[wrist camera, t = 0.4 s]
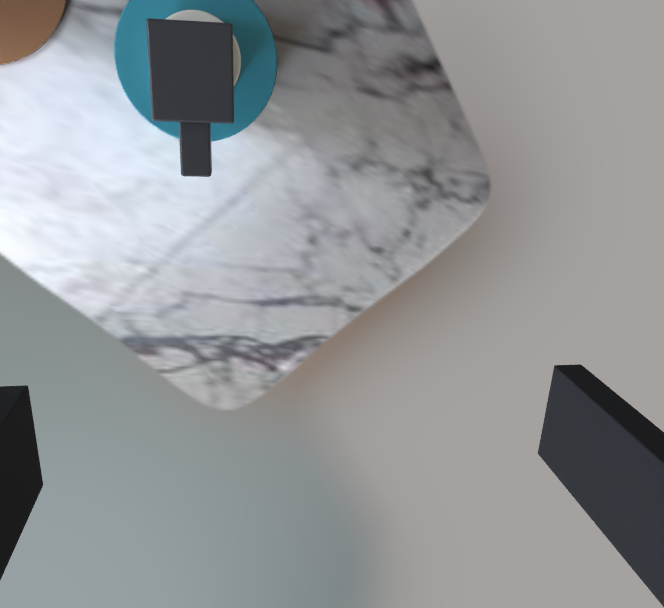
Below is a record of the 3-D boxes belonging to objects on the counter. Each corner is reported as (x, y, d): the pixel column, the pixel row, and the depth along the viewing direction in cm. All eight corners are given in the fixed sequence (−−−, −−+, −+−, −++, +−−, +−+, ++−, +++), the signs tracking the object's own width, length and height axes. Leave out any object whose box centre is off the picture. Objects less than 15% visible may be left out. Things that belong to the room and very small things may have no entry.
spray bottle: (143, -2, 30) (79, -63, 17) (263, 6, 31) (288, -47, 18) (152, 138, 33) (100, 177, 20) (263, 141, 34) (285, 180, 21)
